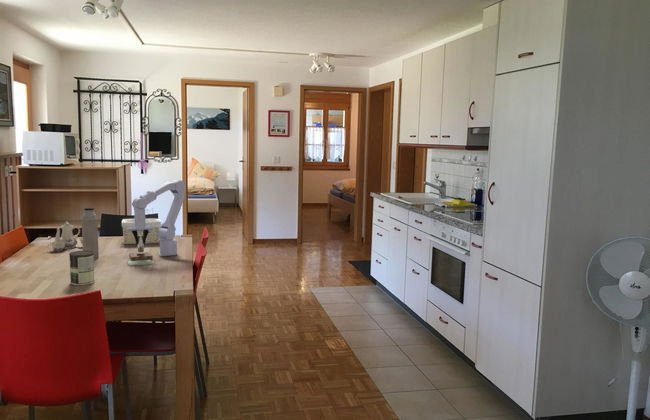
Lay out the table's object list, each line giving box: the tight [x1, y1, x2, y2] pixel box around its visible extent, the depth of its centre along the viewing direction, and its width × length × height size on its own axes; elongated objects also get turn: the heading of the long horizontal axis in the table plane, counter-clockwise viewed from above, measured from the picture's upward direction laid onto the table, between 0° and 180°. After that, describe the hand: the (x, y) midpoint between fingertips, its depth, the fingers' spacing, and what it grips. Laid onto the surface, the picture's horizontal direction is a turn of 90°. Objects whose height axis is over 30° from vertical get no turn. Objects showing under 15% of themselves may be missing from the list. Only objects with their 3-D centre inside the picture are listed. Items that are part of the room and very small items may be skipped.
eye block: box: [128, 251, 154, 261], centre depth 297 cm, size 11×11×2 cm
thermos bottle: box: [81, 207, 100, 260], centre depth 295 cm, size 8×8×28 cm
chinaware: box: [47, 220, 83, 252], centre depth 322 cm, size 28×17×17 cm, turn 147°
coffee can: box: [68, 250, 95, 286], centre depth 245 cm, size 10×10×14 cm
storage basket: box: [121, 217, 162, 245], centre depth 344 cm, size 24×16×15 cm
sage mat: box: [126, 260, 153, 267], centre depth 287 cm, size 12×9×1 cm
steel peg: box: [137, 235, 145, 253], centre depth 296 cm, size 3×3×9 cm
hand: (140, 243), depth 296 cm, fingers closed on steel peg, 3 cm apart
